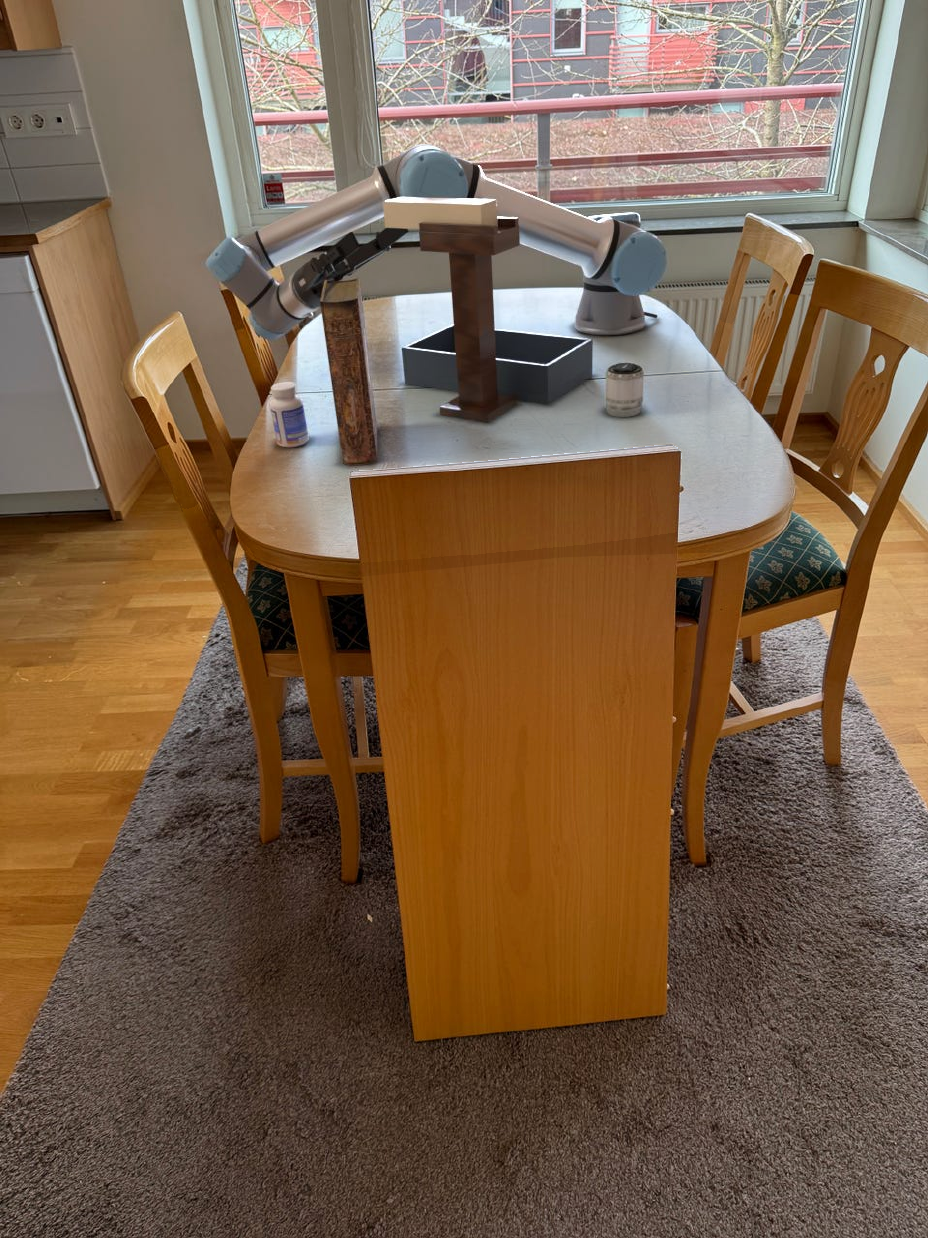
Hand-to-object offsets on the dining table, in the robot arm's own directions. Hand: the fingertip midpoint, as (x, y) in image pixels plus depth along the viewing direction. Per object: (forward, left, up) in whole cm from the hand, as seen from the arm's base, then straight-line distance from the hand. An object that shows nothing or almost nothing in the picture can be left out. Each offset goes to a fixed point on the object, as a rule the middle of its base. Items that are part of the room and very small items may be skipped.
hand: (380, 231), depth 155 cm
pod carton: (-11, +6, +1) cm, 13 cm away
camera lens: (-41, +13, -29) cm, 52 cm away
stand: (-16, +9, -29) cm, 34 cm away
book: (+3, +24, -29) cm, 38 cm away
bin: (-19, -7, -29) cm, 35 cm away
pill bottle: (+15, +21, -29) cm, 39 cm away
